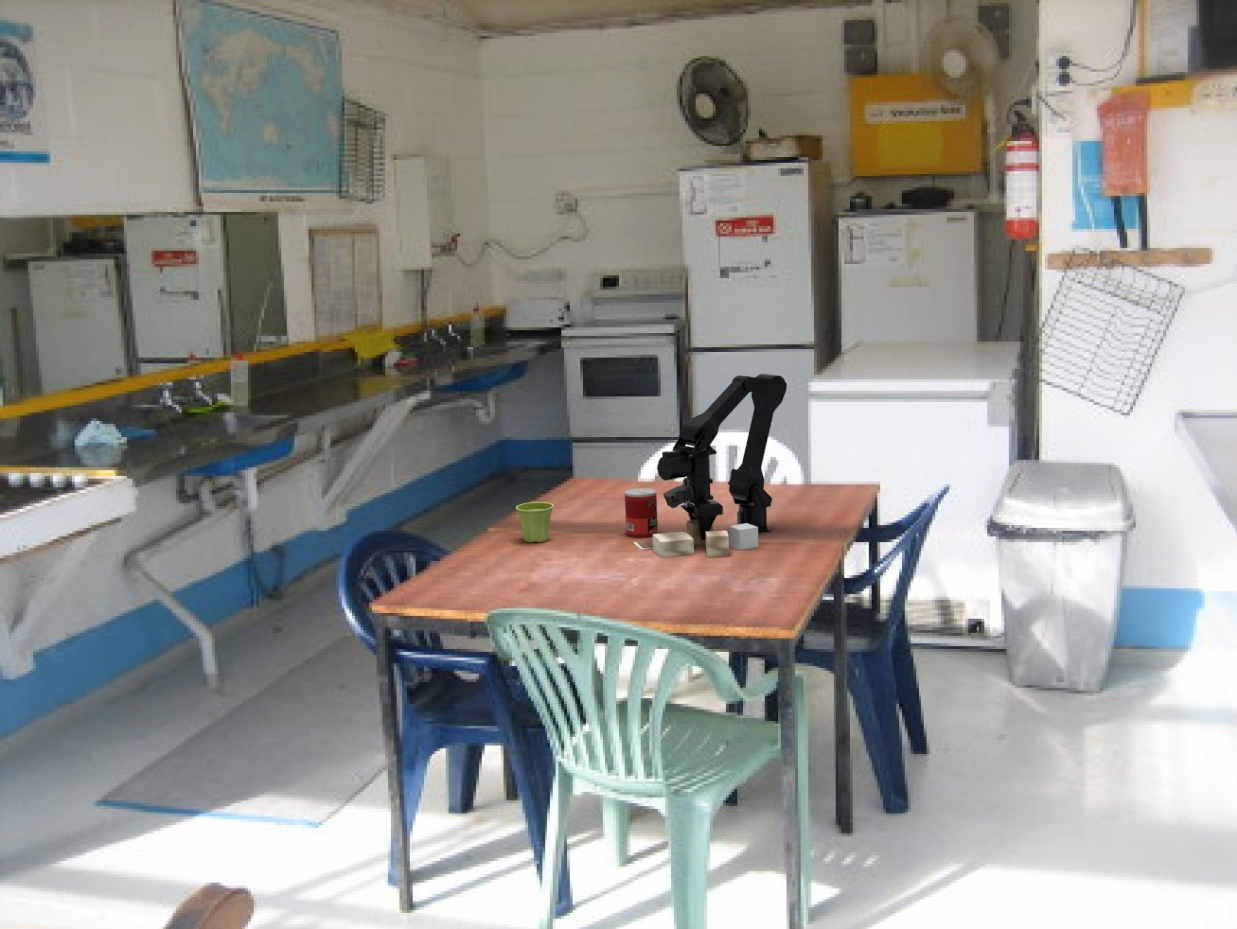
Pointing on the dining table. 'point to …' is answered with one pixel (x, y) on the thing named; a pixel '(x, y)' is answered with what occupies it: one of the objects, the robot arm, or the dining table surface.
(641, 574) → the dining table surface
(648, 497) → the canned food
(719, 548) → the maple block
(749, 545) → the grey block
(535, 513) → the plant pot
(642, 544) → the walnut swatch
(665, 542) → the cream square block
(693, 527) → the walnut block
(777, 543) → the dining table surface
